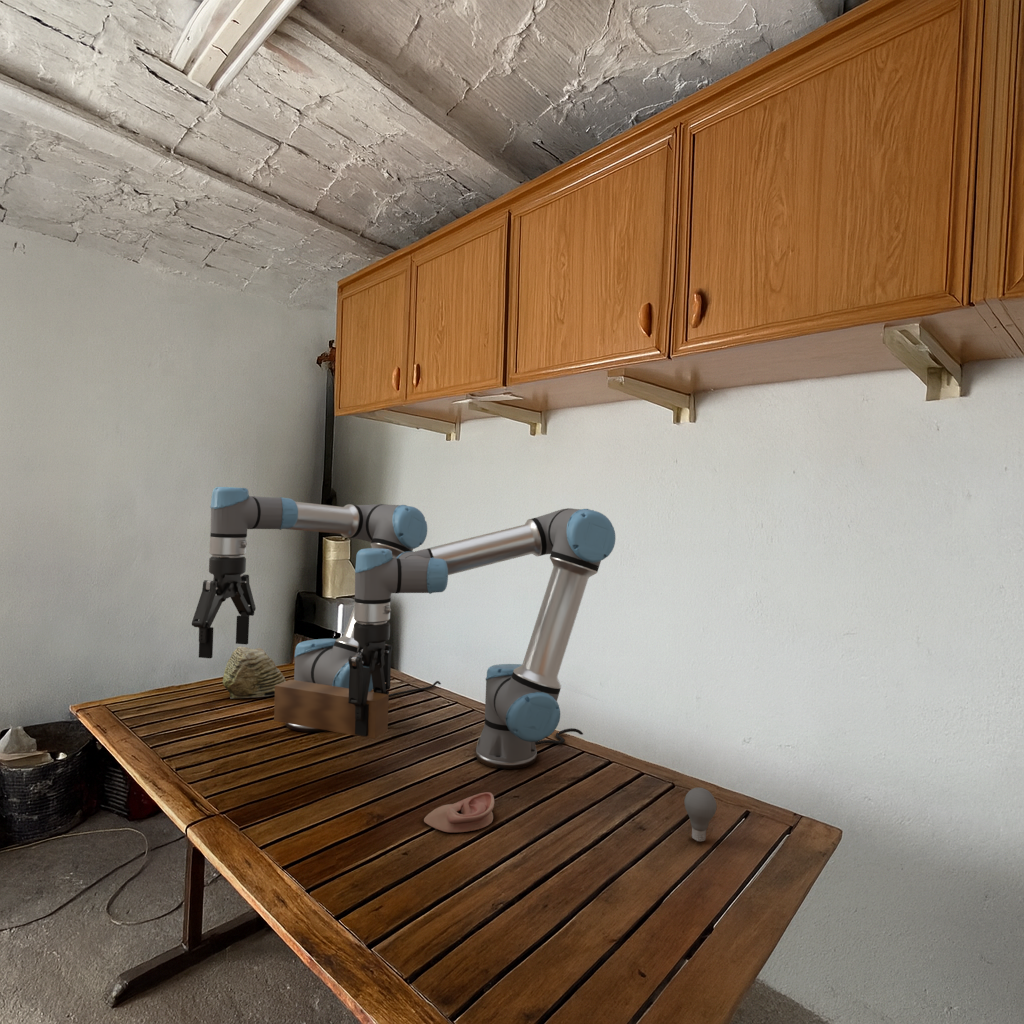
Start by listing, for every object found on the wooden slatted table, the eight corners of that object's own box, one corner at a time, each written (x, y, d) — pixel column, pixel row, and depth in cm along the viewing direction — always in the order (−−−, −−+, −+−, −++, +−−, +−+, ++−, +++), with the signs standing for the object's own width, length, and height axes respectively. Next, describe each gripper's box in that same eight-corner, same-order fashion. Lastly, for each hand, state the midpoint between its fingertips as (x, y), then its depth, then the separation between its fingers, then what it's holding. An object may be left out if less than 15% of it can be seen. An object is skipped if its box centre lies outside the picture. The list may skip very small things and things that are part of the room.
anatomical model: (419, 808, 122) (437, 782, 134) (418, 828, 122) (437, 801, 134) (485, 817, 120) (499, 791, 131) (484, 838, 120) (498, 810, 131)
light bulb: (678, 831, 125) (680, 781, 125) (707, 831, 126) (709, 782, 126) (689, 848, 119) (691, 796, 119) (719, 848, 120) (722, 796, 120)
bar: (273, 720, 140) (274, 685, 140) (289, 713, 145) (290, 679, 145) (374, 739, 131) (375, 701, 131) (387, 730, 136) (388, 694, 136)
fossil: (218, 695, 195) (220, 647, 195) (278, 685, 208) (279, 640, 207) (228, 703, 189) (230, 653, 188) (289, 692, 201) (290, 645, 201)
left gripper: (208, 561, 129) (204, 665, 129) (272, 552, 153) (269, 639, 154) (175, 559, 130) (171, 662, 130) (244, 550, 154) (241, 637, 155)
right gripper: (363, 631, 124) (360, 748, 125) (408, 616, 142) (406, 719, 142) (331, 627, 127) (328, 742, 127) (379, 612, 144) (376, 714, 145)
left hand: (224, 650), depth 142 cm, fingers open, 13 cm apart
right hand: (369, 729), depth 135 cm, fingers closed on bar, 5 cm apart
